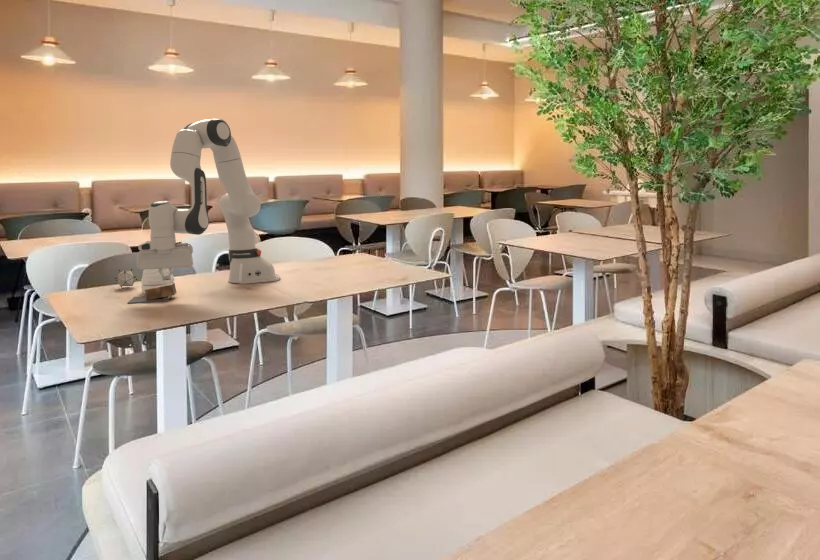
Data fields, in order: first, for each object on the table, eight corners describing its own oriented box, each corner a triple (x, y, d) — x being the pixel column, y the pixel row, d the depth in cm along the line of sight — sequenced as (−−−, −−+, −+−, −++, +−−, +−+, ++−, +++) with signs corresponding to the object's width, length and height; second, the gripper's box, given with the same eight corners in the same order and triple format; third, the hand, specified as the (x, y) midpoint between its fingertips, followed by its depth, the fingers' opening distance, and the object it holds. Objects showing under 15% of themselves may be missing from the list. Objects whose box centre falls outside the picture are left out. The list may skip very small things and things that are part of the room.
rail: (172, 294, 253) (172, 291, 253) (167, 301, 239) (166, 298, 239) (169, 295, 252) (169, 292, 252) (163, 301, 239) (163, 298, 239)
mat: (166, 295, 251) (166, 294, 251) (161, 301, 240) (161, 300, 240) (134, 297, 249) (134, 296, 249) (127, 303, 237) (127, 302, 237)
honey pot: (143, 295, 254) (139, 250, 251) (140, 290, 266) (136, 247, 263) (177, 291, 260) (173, 247, 257) (173, 287, 271) (169, 245, 268)
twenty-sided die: (129, 297, 272) (126, 280, 265) (112, 289, 273) (108, 273, 266) (142, 283, 278) (140, 267, 271) (125, 276, 279) (122, 260, 272)
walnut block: (174, 282, 248) (147, 287, 246) (171, 285, 242) (144, 289, 241) (176, 292, 249) (149, 297, 247) (174, 295, 243) (146, 300, 241)
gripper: (193, 241, 247) (196, 277, 250) (137, 244, 243) (140, 280, 246) (191, 243, 241) (194, 279, 244) (133, 246, 237) (137, 282, 239)
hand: (166, 279), depth 245 cm, fingers closed
